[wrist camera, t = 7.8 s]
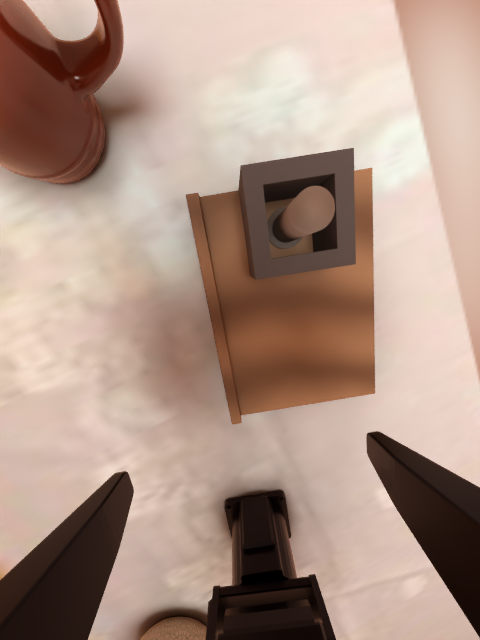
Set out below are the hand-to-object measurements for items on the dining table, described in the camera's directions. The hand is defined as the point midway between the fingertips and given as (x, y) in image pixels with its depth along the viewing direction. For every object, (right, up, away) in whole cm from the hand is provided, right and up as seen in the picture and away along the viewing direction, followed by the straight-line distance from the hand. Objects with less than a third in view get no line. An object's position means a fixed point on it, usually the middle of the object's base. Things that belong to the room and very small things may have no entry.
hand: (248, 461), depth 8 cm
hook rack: (+4, +7, +11) cm, 13 cm away
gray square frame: (+3, +12, +8) cm, 15 cm away
